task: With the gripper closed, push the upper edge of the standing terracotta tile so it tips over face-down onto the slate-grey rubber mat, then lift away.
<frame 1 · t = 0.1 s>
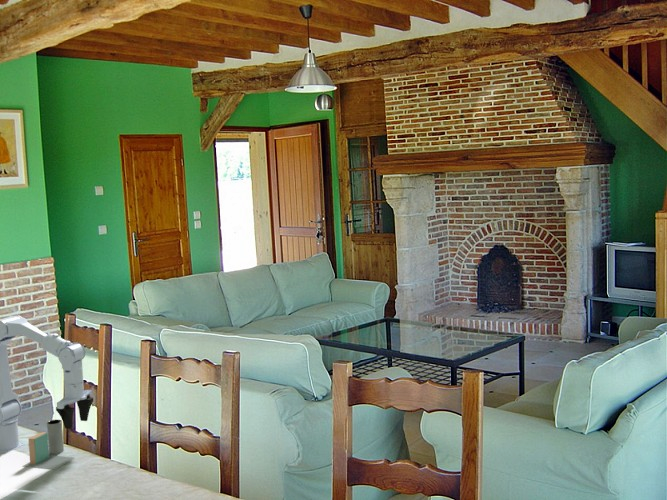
hand: (76, 424, 236), 10 cm above the table, fingers open, 7 cm apart
mat: (49, 463, 230), on the table
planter: (56, 453, 239), on the table
tile: (39, 460, 232), resting on mat
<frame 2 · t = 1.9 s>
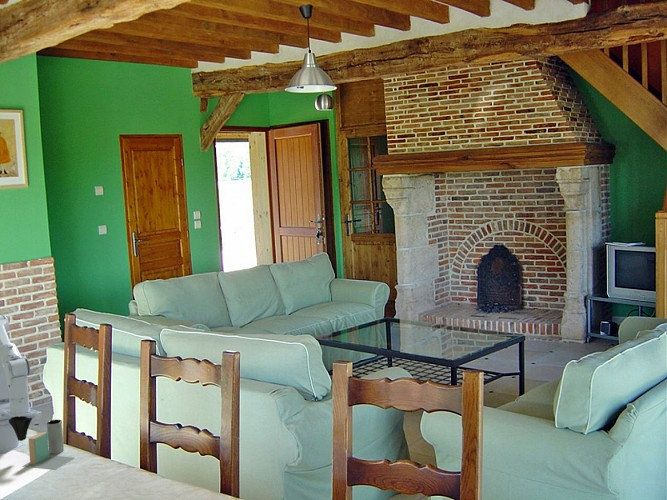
hand: (22, 439, 233), 7 cm above the table, fingers closed
nothing on the table moved.
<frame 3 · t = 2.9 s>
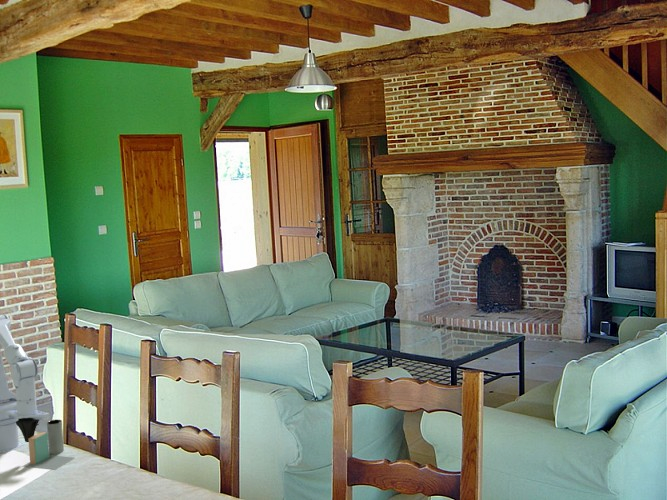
hand: (29, 441, 232), 6 cm above the table, fingers closed
nothing on the table moved.
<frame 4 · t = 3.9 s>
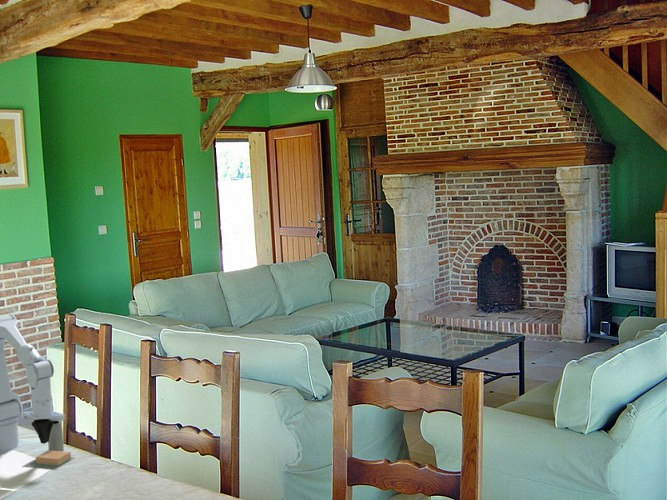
hand: (44, 442, 230), 6 cm above the table, fingers closed
tile: (42, 456, 231), point 2 cm above the table, tilted 90°, touching mat
everything else where it was.
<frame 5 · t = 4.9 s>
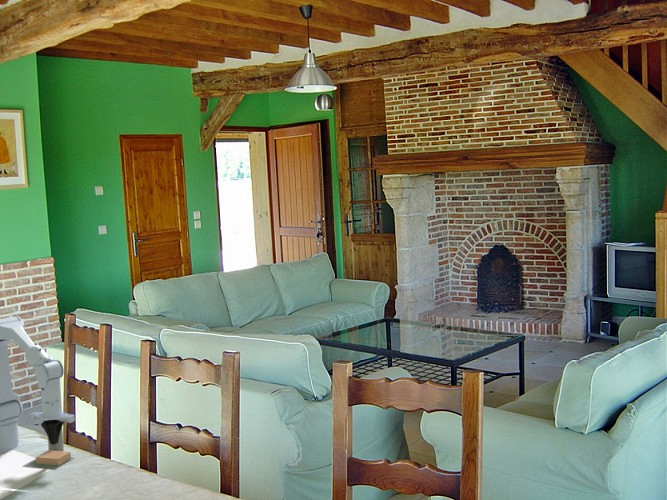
hand: (54, 443, 229), 6 cm above the table, fingers closed
nothing on the table moved.
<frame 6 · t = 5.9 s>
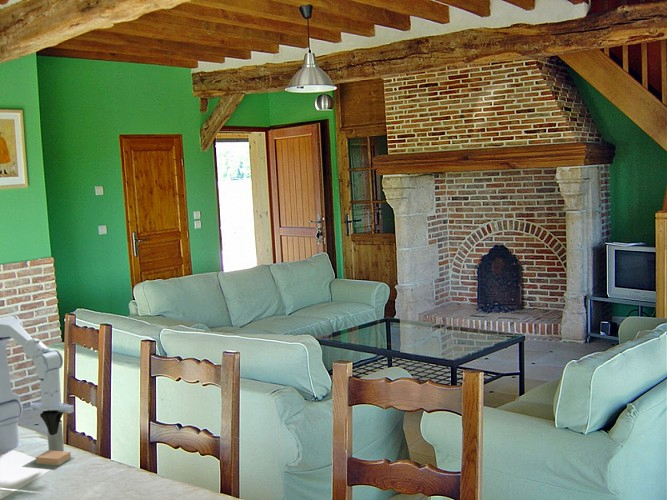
hand: (53, 433, 229), 9 cm above the table, fingers closed
nothing on the table moved.
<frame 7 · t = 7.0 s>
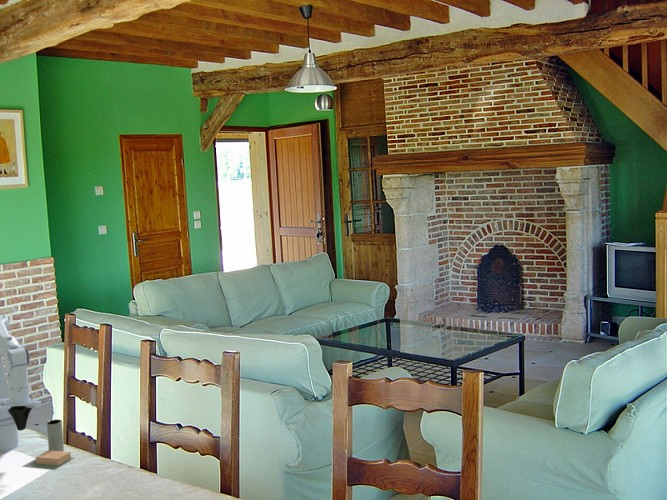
hand: (21, 429, 231), 10 cm above the table, fingers closed
nothing on the table moved.
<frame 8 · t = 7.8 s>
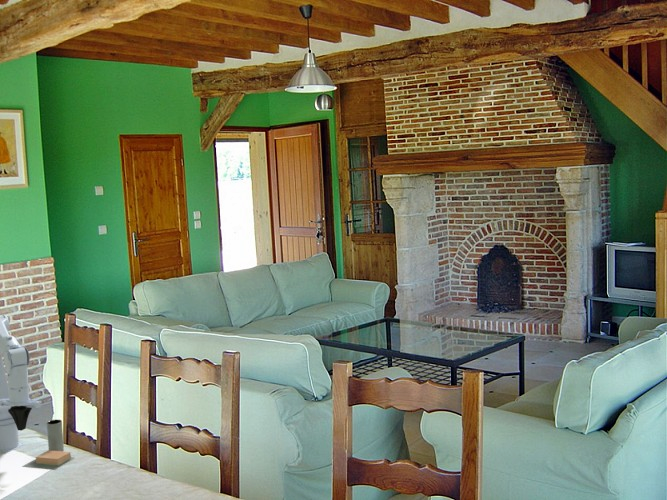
hand: (21, 429, 231), 10 cm above the table, fingers closed
nothing on the table moved.
at the end: tile tilted 90°; tile inside the target area (3.2 cm from its centre), point 1.8 cm above the table; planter moved 0.2 cm from its start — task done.
